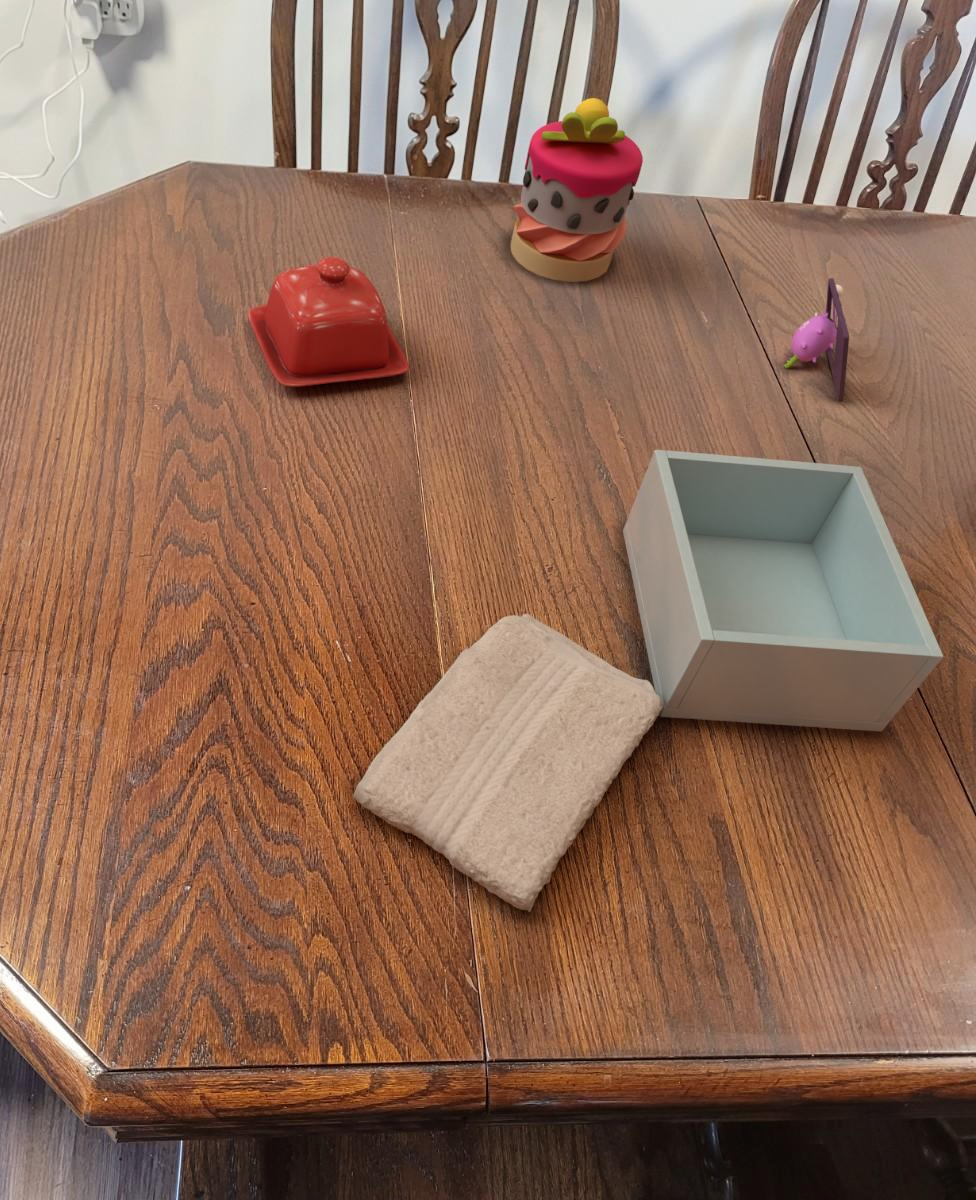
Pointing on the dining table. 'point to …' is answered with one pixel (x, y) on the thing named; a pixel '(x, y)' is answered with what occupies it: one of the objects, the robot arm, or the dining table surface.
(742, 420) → the dining table surface
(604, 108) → the cake
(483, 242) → the dining table surface
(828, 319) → the pink dragon fruit
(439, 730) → the washcloth
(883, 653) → the open box
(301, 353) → the butter dish
